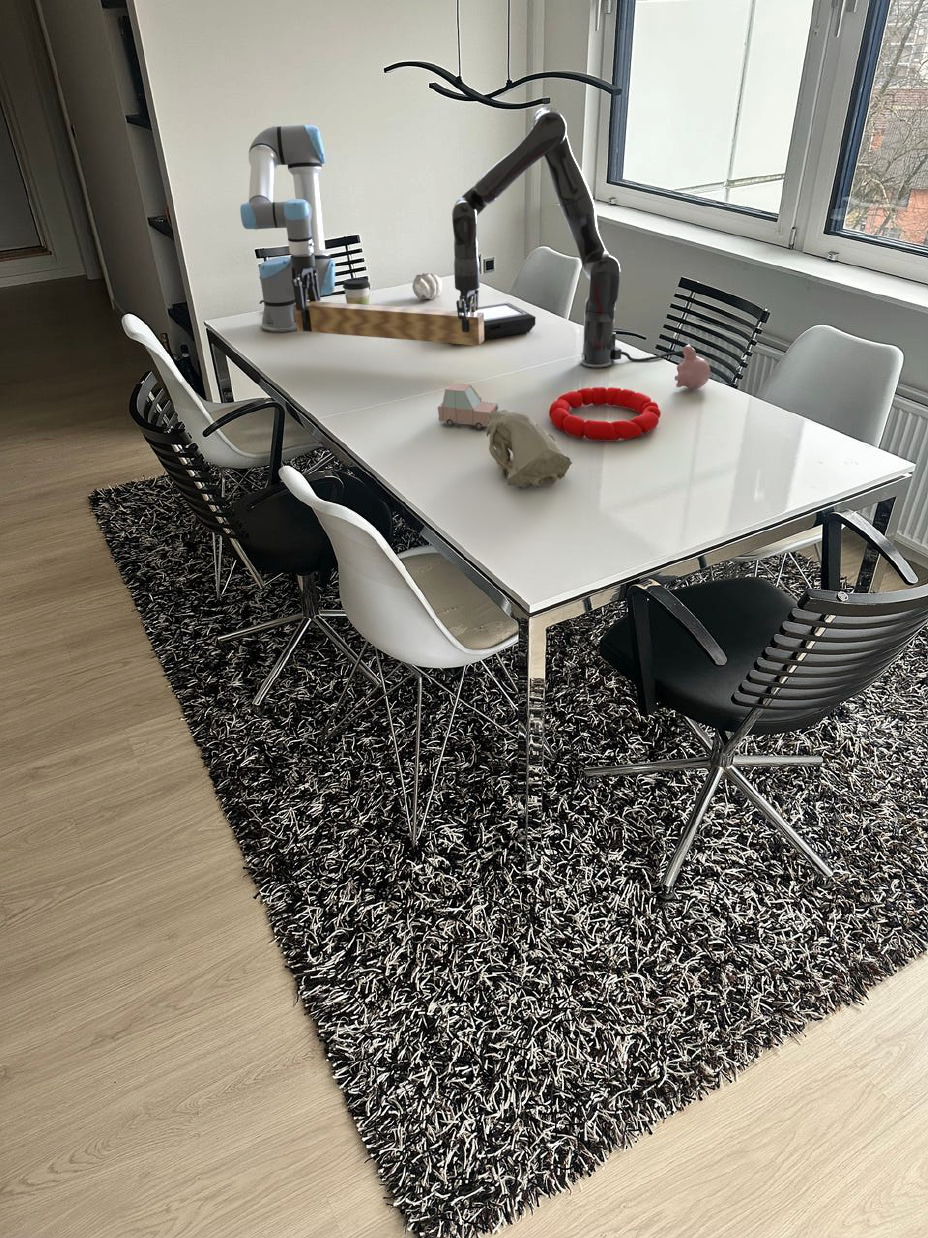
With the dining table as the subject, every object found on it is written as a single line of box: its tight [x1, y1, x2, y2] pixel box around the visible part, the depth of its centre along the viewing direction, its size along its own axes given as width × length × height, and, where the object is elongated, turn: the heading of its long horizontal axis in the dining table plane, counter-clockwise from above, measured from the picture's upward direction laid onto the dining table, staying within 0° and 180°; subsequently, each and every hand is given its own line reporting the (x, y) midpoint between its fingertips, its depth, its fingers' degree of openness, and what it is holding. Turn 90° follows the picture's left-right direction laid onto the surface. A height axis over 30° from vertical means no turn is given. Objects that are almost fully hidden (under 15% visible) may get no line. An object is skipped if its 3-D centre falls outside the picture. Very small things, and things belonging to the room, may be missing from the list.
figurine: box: [674, 344, 711, 390], centre depth 259 cm, size 9×11×12 cm
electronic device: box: [452, 302, 537, 345], centre depth 312 cm, size 32×6×20 cm
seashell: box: [411, 272, 443, 300], centre depth 348 cm, size 10×15×10 cm
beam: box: [294, 300, 485, 346], centre depth 283 cm, size 64×5×9 cm, turn 70°
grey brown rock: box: [485, 409, 573, 489], centre depth 216 cm, size 17×25×20 cm
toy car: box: [437, 382, 499, 431], centre depth 243 cm, size 9×15×10 cm, turn 70°
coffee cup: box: [342, 277, 371, 305], centre depth 323 cm, size 10×10×15 cm
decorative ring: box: [548, 386, 661, 442], centre depth 242 cm, size 7×30×30 cm
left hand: (311, 327), depth 294 cm, fingers closed on beam, 5 cm apart
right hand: (468, 328), depth 275 cm, fingers closed on beam, 5 cm apart
